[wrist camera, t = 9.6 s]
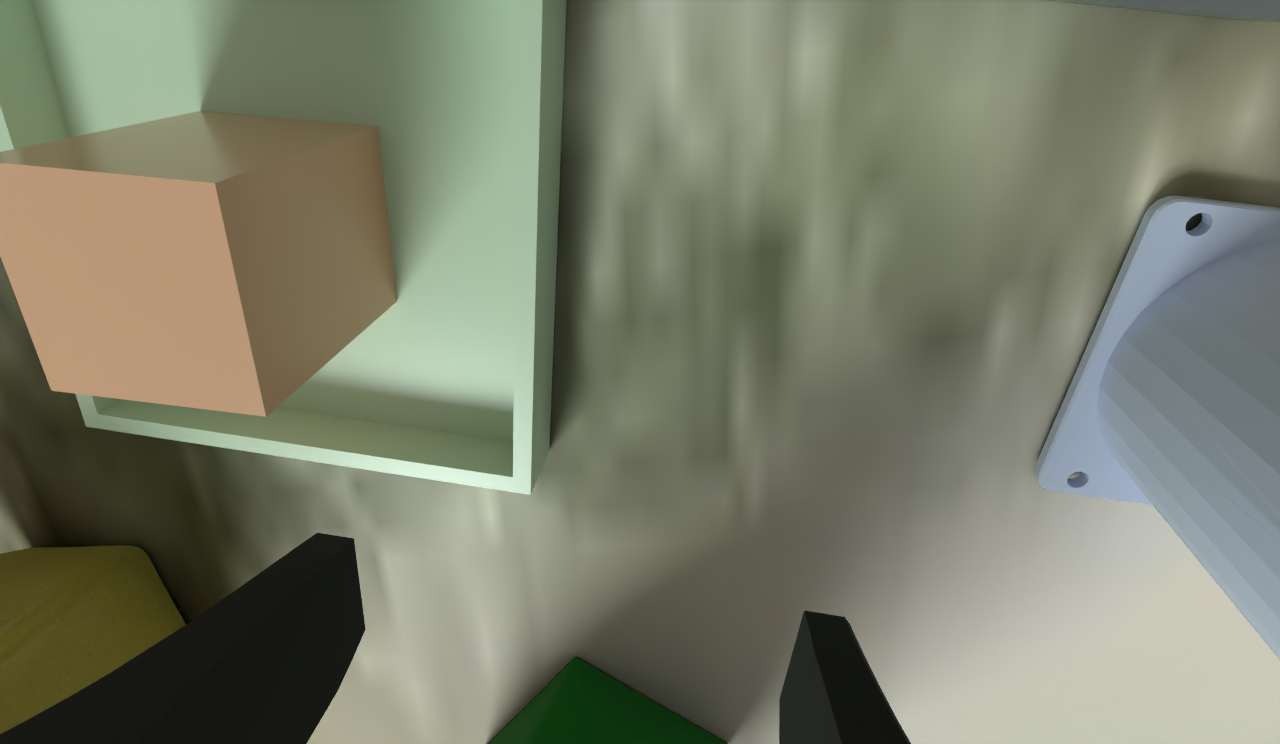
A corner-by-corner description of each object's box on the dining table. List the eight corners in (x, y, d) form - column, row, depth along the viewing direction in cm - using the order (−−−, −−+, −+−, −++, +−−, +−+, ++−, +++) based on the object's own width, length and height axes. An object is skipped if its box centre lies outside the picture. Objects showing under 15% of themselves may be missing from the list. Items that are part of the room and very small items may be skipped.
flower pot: (-44, 503, 26) (-389, 725, 18) (165, 494, 24) (-111, 733, 16) (75, 672, 30) (-166, 916, 22) (262, 673, 28) (75, 936, 20)
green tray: (568, -49, 15) (544, -56, 13) (549, 449, 21) (530, 494, 19) (6, -106, 16) (-94, -121, 14) (142, 389, 22) (85, 426, 20)
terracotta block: (378, 126, 17) (214, 182, 12) (397, 301, 19) (265, 416, 14) (200, 110, 17) (-37, 159, 12) (238, 284, 19) (51, 390, 14)
